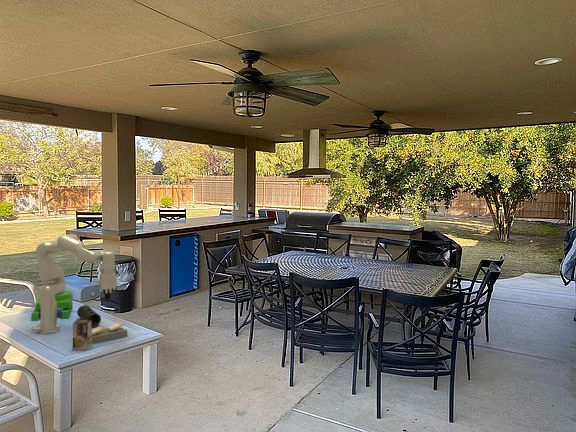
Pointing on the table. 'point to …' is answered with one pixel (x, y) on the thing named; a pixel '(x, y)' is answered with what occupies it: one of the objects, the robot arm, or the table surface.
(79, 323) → the coffee box
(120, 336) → the switch block
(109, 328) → the far rocker
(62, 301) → the tank
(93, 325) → the muzzle brake
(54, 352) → the table surface
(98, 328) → the block
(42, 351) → the table surface
